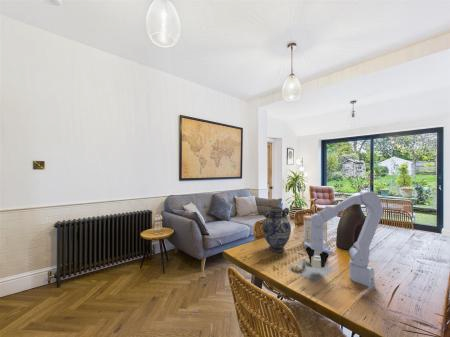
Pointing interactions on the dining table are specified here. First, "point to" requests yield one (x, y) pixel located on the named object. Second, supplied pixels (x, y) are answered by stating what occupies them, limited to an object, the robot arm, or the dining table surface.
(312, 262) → the octagonal pipe segment
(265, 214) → the decorative vase
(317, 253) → the photo printer
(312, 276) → the gear board
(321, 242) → the robot arm
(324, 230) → the coffeecake box
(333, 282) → the dining table surface
